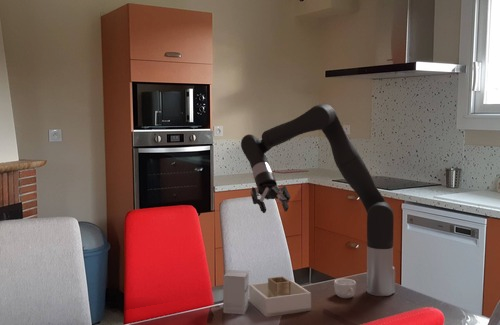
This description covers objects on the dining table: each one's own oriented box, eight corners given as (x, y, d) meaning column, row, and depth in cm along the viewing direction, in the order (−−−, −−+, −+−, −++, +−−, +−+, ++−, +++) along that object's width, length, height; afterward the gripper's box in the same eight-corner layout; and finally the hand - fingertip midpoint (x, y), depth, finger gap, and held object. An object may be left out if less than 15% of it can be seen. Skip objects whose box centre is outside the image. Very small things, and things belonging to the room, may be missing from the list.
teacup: (330, 293, 184) (330, 279, 184) (349, 292, 186) (349, 277, 186) (342, 303, 175) (343, 287, 174) (362, 300, 177) (362, 285, 176)
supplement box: (244, 314, 164) (244, 276, 163) (222, 313, 165) (222, 275, 165) (249, 307, 171) (249, 270, 170) (228, 305, 173) (227, 269, 172)
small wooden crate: (282, 298, 176) (282, 276, 176) (290, 304, 170) (290, 281, 169) (268, 300, 174) (268, 278, 174) (275, 307, 168) (275, 283, 168)
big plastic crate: (290, 295, 182) (290, 279, 182) (310, 310, 167) (311, 293, 167) (249, 301, 177) (249, 284, 176) (266, 317, 162) (266, 298, 161)
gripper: (248, 171, 188) (260, 206, 178) (283, 169, 193) (296, 203, 183) (244, 183, 193) (254, 218, 183) (278, 182, 198) (290, 215, 188)
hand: (275, 211), depth 183 cm, fingers open, 8 cm apart
